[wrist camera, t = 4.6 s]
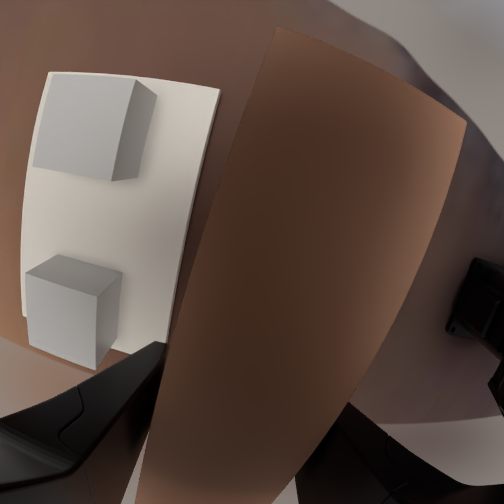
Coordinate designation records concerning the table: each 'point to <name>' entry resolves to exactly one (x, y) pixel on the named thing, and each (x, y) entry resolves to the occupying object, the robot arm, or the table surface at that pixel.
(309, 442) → the terracotta bar
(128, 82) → the display stand
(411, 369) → the table surface
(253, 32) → the table surface
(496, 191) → the table surface
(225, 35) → the table surface
